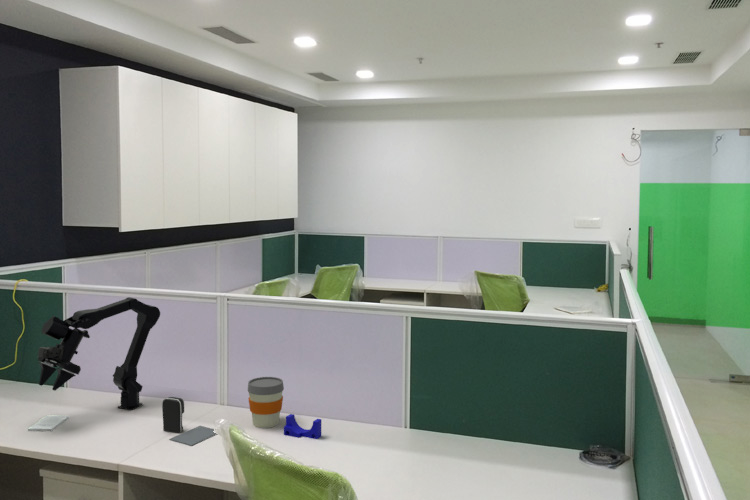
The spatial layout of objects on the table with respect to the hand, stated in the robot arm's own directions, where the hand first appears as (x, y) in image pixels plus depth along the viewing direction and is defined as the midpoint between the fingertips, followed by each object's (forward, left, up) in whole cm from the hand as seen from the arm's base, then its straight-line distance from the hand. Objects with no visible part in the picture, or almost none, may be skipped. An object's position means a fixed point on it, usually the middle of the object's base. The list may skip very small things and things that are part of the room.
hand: (46, 387), depth 225 cm
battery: (-14, +41, -15) cm, 46 cm away
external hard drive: (-3, -3, -15) cm, 16 cm away
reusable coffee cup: (-31, +67, -15) cm, 75 cm away
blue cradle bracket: (-25, +84, -15) cm, 89 cm away
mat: (-12, +51, -15) cm, 54 cm away
